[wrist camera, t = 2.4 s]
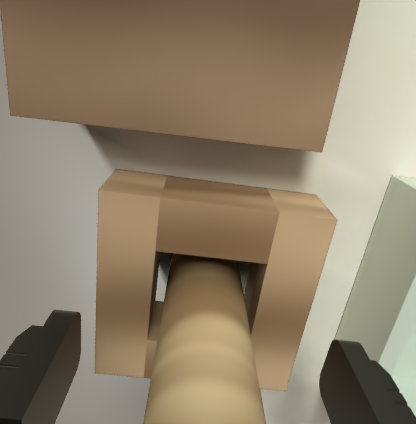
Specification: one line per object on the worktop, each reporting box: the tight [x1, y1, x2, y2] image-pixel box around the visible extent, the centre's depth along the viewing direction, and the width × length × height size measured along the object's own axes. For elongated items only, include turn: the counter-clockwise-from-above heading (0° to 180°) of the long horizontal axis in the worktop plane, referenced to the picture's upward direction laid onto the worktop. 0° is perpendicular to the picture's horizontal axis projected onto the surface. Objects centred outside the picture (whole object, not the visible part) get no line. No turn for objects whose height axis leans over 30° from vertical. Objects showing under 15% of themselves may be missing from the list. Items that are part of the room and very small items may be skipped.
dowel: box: [143, 253, 266, 424], centre depth 11 cm, size 3×3×10 cm
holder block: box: [95, 169, 337, 391], centre depth 14 cm, size 8×8×2 cm
